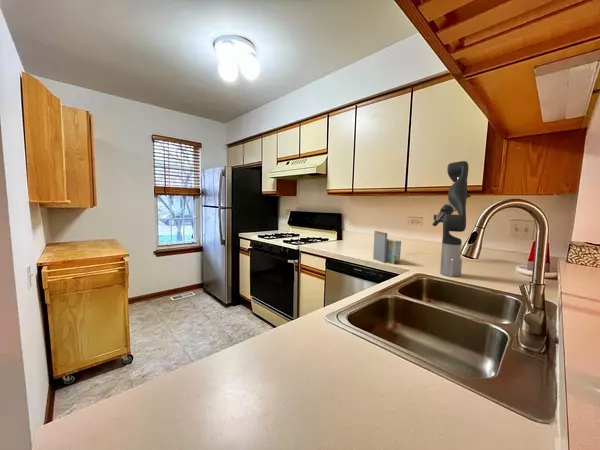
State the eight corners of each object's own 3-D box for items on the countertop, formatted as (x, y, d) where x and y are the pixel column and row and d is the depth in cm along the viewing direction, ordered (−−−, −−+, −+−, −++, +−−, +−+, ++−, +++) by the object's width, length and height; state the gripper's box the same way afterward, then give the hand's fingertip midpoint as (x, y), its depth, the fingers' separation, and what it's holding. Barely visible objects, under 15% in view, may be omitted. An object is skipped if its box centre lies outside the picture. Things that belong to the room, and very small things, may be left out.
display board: (386, 262, 170) (387, 233, 168) (383, 262, 170) (385, 233, 168) (375, 258, 183) (376, 230, 181) (373, 258, 182) (374, 230, 180)
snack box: (400, 263, 168) (401, 240, 167) (393, 264, 166) (394, 241, 165) (379, 257, 188) (380, 236, 187) (372, 257, 186) (373, 236, 184)
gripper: (439, 204, 189) (423, 220, 187) (454, 204, 176) (438, 222, 174) (444, 211, 191) (429, 228, 189) (459, 212, 178) (444, 230, 176)
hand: (433, 225), depth 181 cm, fingers closed
